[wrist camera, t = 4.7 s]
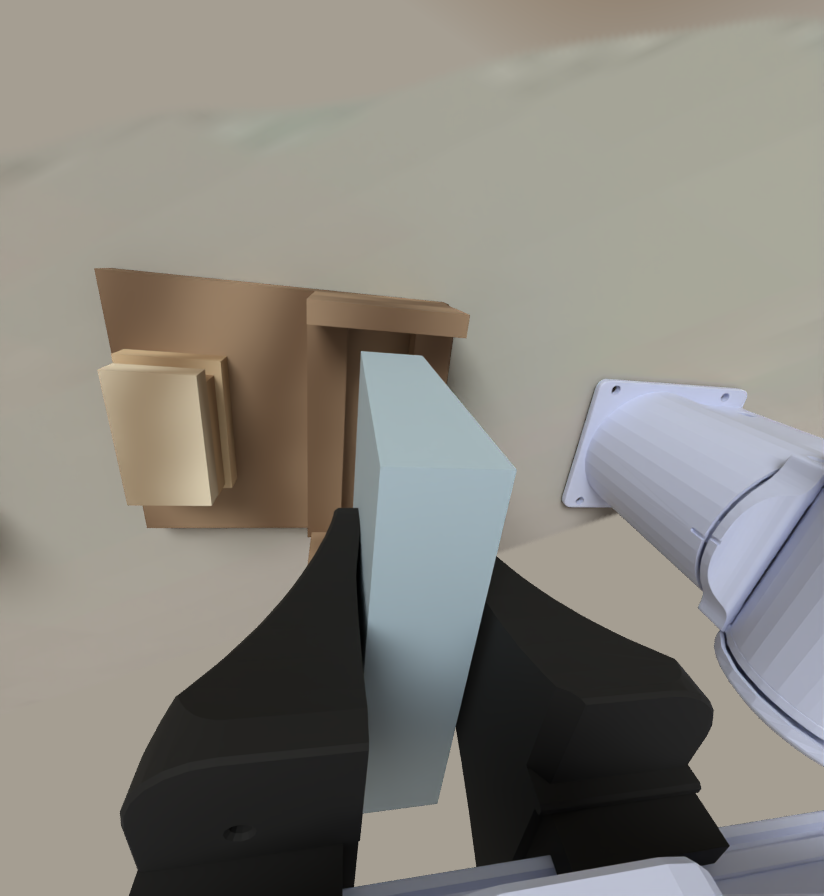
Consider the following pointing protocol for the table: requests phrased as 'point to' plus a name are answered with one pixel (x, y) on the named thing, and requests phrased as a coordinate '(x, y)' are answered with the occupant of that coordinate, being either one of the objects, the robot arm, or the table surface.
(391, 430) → the tall sheet
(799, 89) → the table surface
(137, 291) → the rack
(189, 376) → the offcut stack
